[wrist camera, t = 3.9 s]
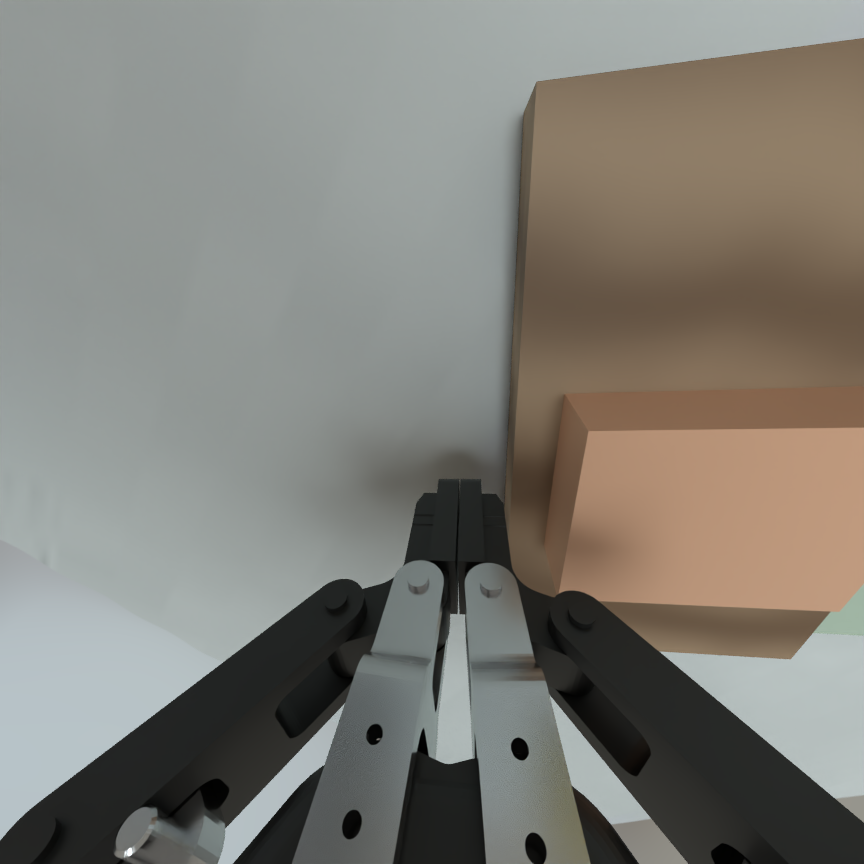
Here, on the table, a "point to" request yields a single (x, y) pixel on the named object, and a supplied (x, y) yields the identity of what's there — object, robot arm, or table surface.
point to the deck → (685, 270)
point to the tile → (711, 497)
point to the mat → (846, 618)
